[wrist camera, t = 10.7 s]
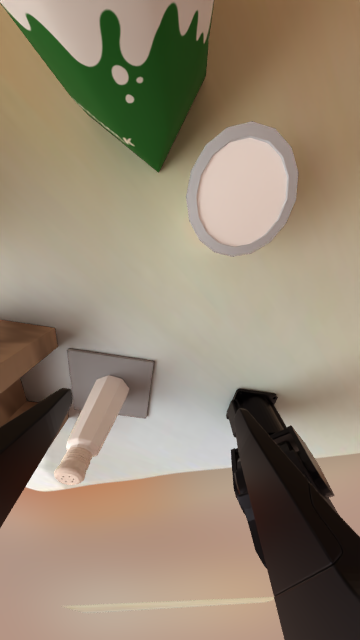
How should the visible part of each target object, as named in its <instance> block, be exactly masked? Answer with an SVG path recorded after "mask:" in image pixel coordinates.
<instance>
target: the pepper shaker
mask: <svg viewBox="0 0 360 640" xmlns="http://www.w3.org/2000/svg"><path fill="white" fill-rule="evenodd" d="M128 391H129V387H128V386H127V385H126V383H125V382H124V381H123V379H121V378H117V377H114V376H110V375H108V376H105V377H102V378H99V379H97V380H96V382H95V384H94V386H93V388H92V390H91V392H90V394H89V396H88V399H87V401H86V403H85V405H84V407H83V409H82V411H81V413H80V415H79V417H78V419H77V421H76V423H75V426H74V428H73V430H72V432H71V434H70V436H69V439H68V441H67V446H66V449H67V450H68V451H67V453H66V455H65V456H64V458H63V459H62V461H61V464H60V465H59V466H58V467H57V469H56V470H55V472H54V476H55V478H56V479H57V480H58V481H59V482H61V483H63V484H67V485H75V484H79V483H81V482H82V481H83V480H84V478H85V474H86V470H87V469H88V467H89V464H90V460H91V459H92V457H94V456H97V455H98V453H99V451H100V449H101V448H102V446H103V443H104V441H105V439H106V437H107V435H108V433H109V431H110V429H111V427H112V425H113V423H114V421H115V419H116V417H117V415H118V413H119V411H120V409H121V407H122V405H123V403H124V401H125V399H126V397H127V394H128Z"/></svg>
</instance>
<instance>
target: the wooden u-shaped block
mask: <svg viewBox="0 0 360 640" xmlns="http://www.w3.org/2000/svg"><path fill="white" fill-rule="evenodd" d="M57 347H58V345H57V339H56V332H55V328H52V327H45V326H39V325H32V324H26V323H19V322H12V321H6V320H0V427H1V426H3V425H4V424H6V423H7V422H9V421H11V420H12V419H14V418H15V417H17V416H18V415H20V414H22V413H23V412H25V411H26V410H28V409H30V408H31V407H33V406H34V405H36V404H37V403H38V402H30V401H27V400H26V397H25V393H24V390H23V386H22V383H21V379H20V377H22V376H23V375H24V374H25V373H26V372H28V371H29V370H30V369H31V368H33V367H34V366H35V365H36V364H37V363H39V362H40V361H41V360H42V359H44V358H45V357H46V356H47V355H48V354H50V353H51V352H52V351H53V350H55V349H56V348H57ZM67 419H68V413H67V415H66V417H65V419H64V421H63V423H62V425H61V427H60V429H59V431H58V433H59V432H60V430H61V429H62V427H63V426H64V424H65V423H66V421H67ZM58 433H57V435H58ZM57 435H56V436H57ZM55 438H56V437H55ZM55 438H54V439H55ZM53 441H54V440H53Z"/></svg>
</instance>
